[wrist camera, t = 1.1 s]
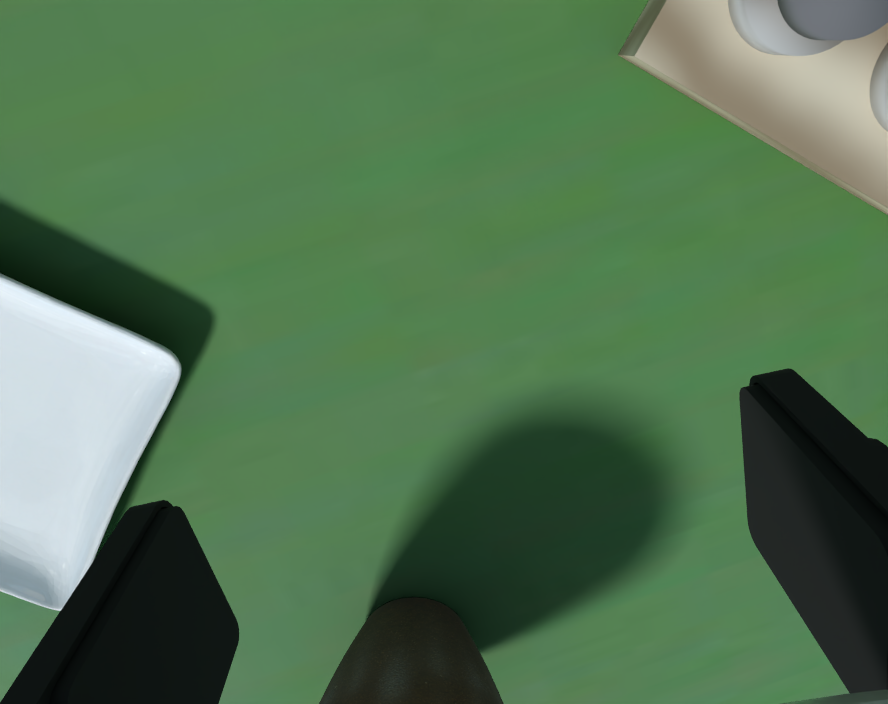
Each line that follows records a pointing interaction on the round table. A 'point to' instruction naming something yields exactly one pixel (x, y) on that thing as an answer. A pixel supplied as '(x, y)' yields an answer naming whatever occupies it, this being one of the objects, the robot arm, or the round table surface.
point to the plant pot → (412, 660)
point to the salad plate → (68, 434)
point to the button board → (777, 83)
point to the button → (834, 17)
